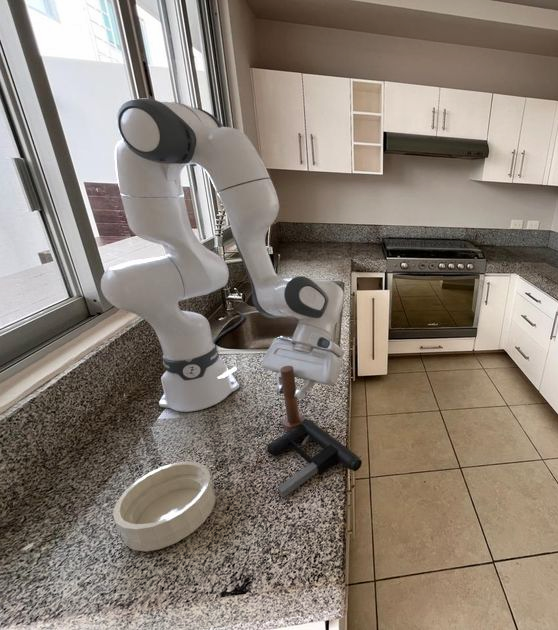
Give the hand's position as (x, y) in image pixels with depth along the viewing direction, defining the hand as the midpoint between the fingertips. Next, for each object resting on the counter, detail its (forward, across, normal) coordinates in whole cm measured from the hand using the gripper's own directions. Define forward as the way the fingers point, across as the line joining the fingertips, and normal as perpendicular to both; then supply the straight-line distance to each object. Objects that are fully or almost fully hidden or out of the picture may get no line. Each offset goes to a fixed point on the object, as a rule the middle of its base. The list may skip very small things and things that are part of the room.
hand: (288, 395), depth 81 cm
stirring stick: (+6, 0, +7) cm, 9 cm away
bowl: (+26, -4, -13) cm, 29 cm away
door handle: (+12, +11, +1) cm, 16 cm away
